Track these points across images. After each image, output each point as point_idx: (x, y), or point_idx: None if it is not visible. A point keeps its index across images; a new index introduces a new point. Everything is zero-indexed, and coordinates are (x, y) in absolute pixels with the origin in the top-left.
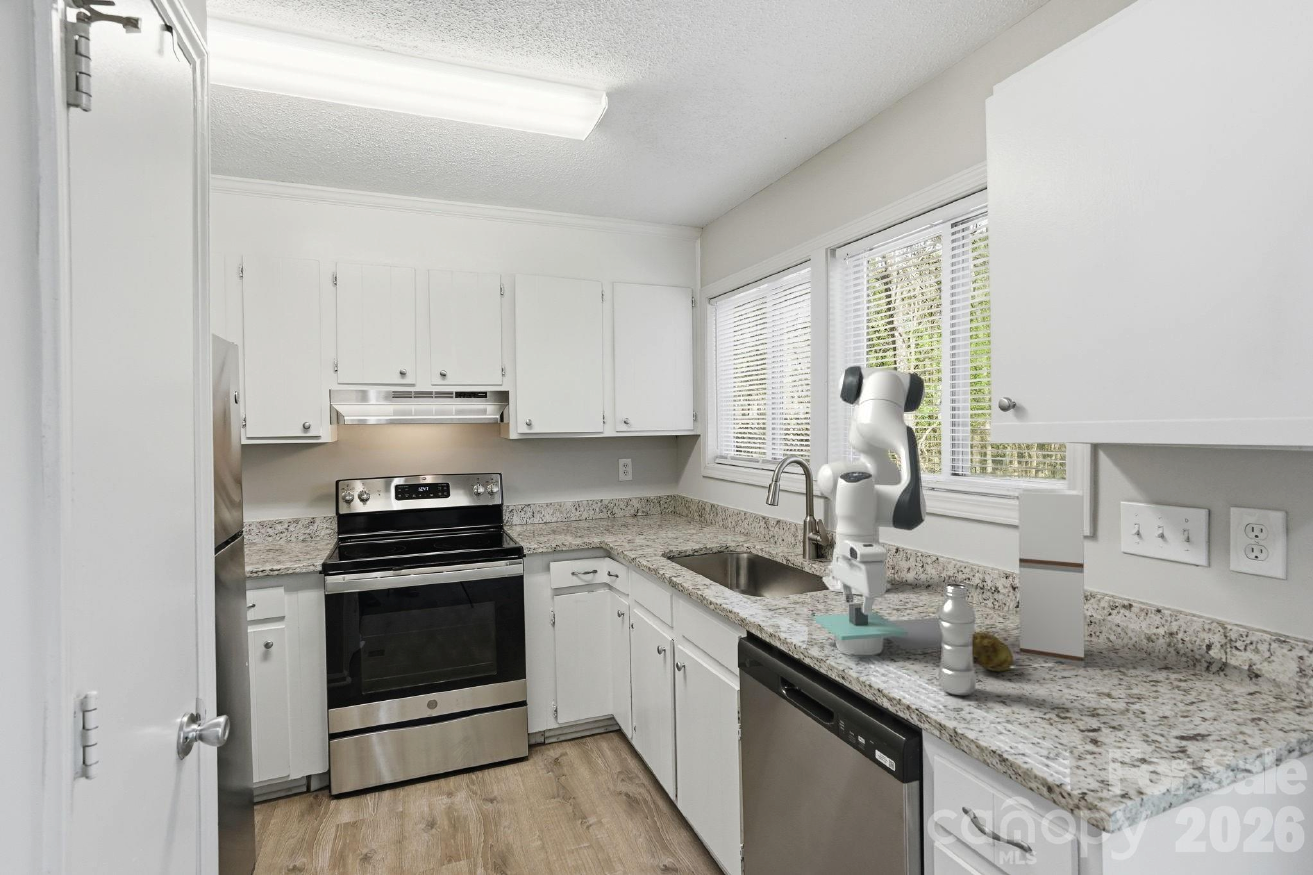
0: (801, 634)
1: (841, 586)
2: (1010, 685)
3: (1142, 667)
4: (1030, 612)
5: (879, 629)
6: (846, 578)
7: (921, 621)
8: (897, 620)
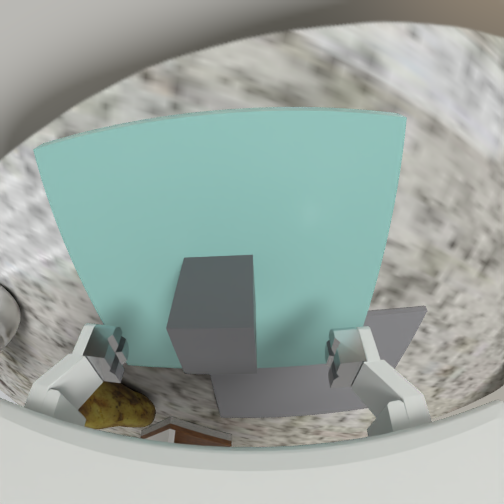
0: (439, 95)
1: (413, 389)
2: (56, 362)
3: None
4: None
5: (138, 316)
6: (266, 501)
7: None
8: (396, 364)
